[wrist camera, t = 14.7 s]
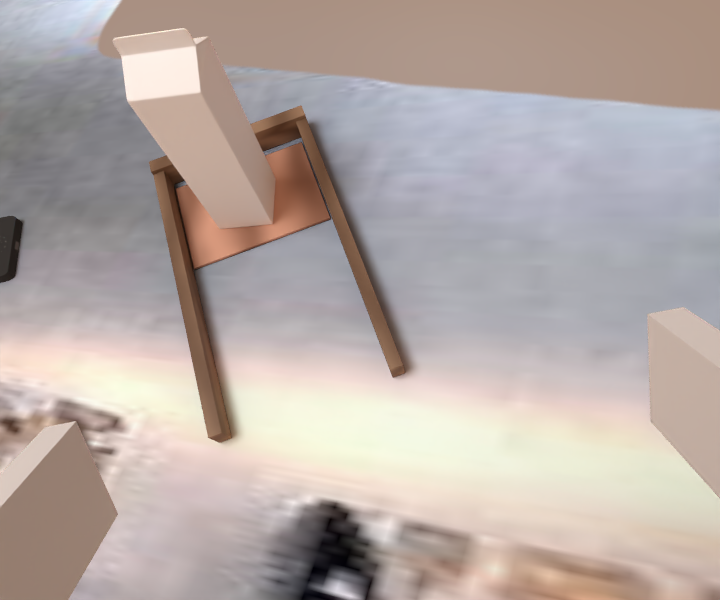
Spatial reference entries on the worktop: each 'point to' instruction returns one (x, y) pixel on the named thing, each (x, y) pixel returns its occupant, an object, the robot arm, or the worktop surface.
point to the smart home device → (9, 246)
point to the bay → (255, 242)
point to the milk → (199, 124)
